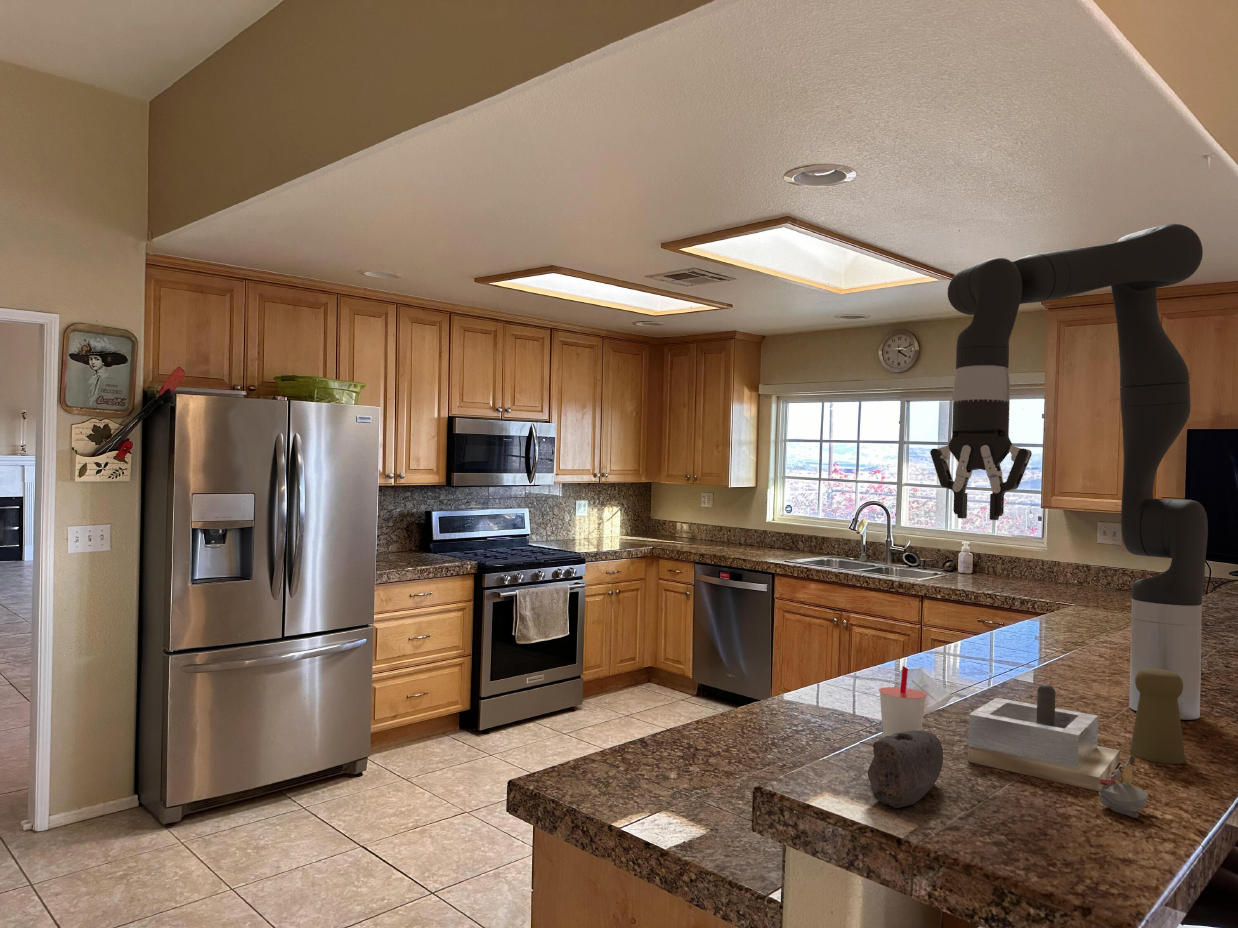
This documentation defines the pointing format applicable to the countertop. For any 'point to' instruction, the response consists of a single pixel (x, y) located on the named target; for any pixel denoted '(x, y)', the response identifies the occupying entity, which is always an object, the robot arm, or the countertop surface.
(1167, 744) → the cork
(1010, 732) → the grey hollow block
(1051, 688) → the block
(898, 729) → the cup
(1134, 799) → the figurine
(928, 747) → the perforated stone tool
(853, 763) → the countertop surface
